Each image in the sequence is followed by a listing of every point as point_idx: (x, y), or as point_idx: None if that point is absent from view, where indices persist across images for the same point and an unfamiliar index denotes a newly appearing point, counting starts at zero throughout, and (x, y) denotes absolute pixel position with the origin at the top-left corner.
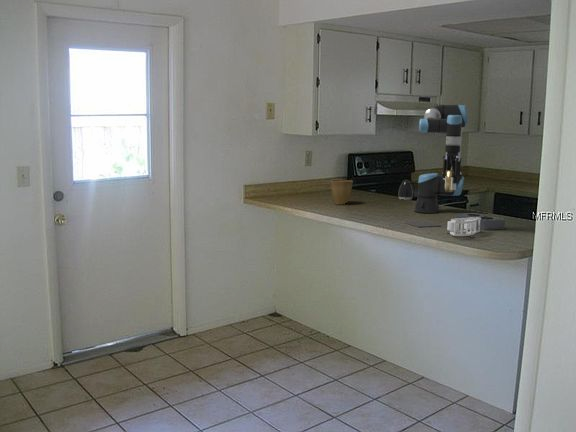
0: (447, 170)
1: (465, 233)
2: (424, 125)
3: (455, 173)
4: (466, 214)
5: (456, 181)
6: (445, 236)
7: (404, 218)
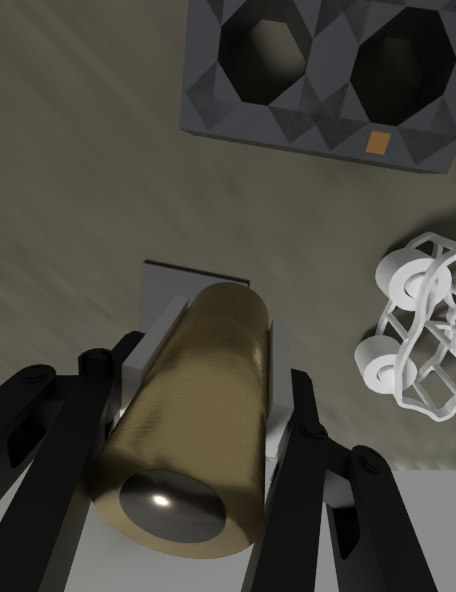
0: (142, 535)
1: (443, 351)
2: None
3: (351, 539)
4: (226, 85)
5: (311, 391)
6: (401, 411)
7: (43, 276)
